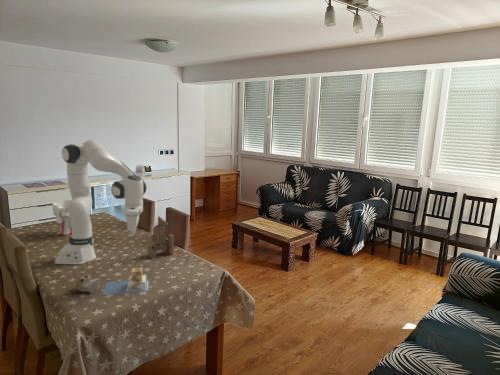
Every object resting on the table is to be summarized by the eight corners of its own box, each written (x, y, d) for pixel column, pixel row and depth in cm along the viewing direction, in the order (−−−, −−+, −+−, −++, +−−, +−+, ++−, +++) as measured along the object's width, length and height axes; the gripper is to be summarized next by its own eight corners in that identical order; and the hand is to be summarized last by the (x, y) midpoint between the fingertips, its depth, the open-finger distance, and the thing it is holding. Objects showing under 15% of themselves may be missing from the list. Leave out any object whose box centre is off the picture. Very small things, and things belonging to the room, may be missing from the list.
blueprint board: (102, 297, 173) (102, 294, 173) (106, 284, 186) (106, 282, 186) (149, 293, 178) (149, 291, 178) (150, 281, 191) (150, 279, 191)
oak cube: (131, 281, 180) (131, 272, 179) (132, 277, 184) (132, 267, 183) (142, 280, 181) (141, 271, 180) (142, 276, 186) (142, 267, 185)
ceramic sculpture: (91, 281, 170) (63, 278, 173) (92, 298, 172) (65, 295, 175) (104, 272, 180) (78, 270, 184) (106, 288, 182) (80, 286, 185)
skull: (51, 231, 266) (49, 201, 261) (78, 227, 277) (77, 198, 273) (57, 241, 246) (55, 209, 242) (87, 236, 258) (85, 205, 253)
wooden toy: (150, 258, 222) (149, 219, 217) (147, 254, 228) (146, 217, 223) (174, 254, 230) (174, 216, 226) (170, 251, 236) (170, 214, 231)
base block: (128, 290, 178) (128, 282, 178) (130, 283, 186) (130, 276, 185) (145, 289, 180) (145, 281, 180) (146, 282, 188) (146, 275, 187)
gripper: (129, 203, 190) (129, 227, 192) (124, 212, 170) (124, 240, 172) (142, 203, 191) (141, 228, 193) (138, 213, 171) (137, 240, 174)
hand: (133, 234), depth 183 cm, fingers closed
